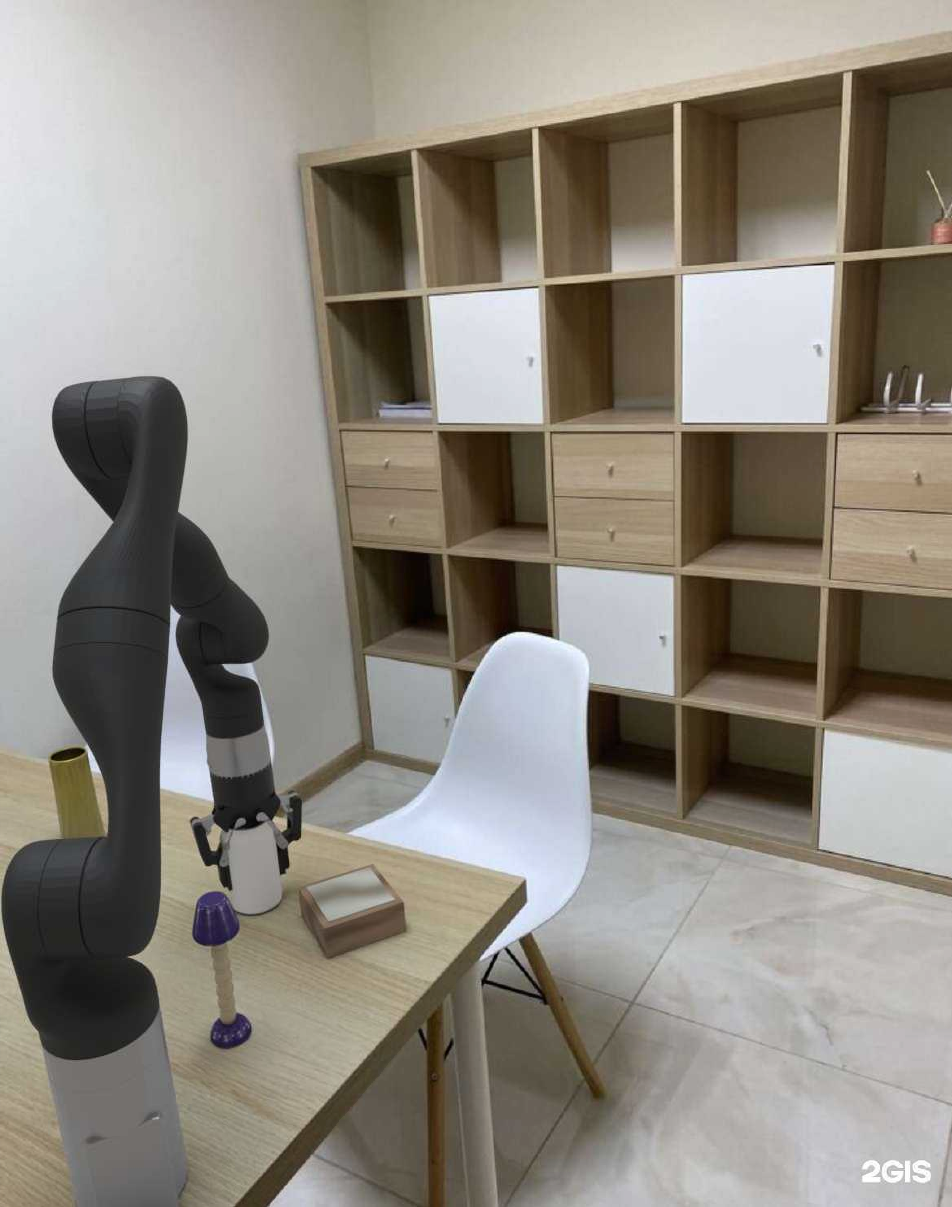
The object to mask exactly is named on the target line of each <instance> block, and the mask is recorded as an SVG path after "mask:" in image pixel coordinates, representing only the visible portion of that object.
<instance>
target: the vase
mask: <svg viewBox="0 0 952 1207" xmlns="http://www.w3.org/2000/svg"><path fill="white" fill-rule="evenodd" d="M88 753H89V752H88V749H87V748H86V747H83V746H77V745H76V746H68V747H67V746H66V747H64V748H60V749H57V750H55V751H53V752H51V753H50V754H49V755H48V765H49V771H50V775H51V780H52V786H53V787H52V788H53V792H54V797H55V798H54V800H55V804H56V810H57V811H56V813H57V819H58V825H59V831H60V832H59V833H60V837H61V838H60V839H67V838H84V837H102V836H104V837H106V836H107V833H106V831H105V827H104V822H103V820H102V815H101V810H100V806H99V802H98V797H97V794H96V788H95V784H94V779H93V778H94V777H93V774H92V768H91V764H90V759H89V758H90V757H89V754H88Z"/></svg>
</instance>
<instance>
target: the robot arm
mask: <svg viewBox="0 0 952 1207" xmlns="http://www.w3.org/2000/svg"><path fill="white" fill-rule="evenodd" d="M184 401H185V400H184V399H183V396H182V393H181V392H180V389H179V388H178V386H176V385H175V383H173V382H172V381H171V380H170V379H167V378H166V377H163V376H156V375H143V376H142V375H140V376H131V377H122V378H115V379H114V378H112V379H103V380H93V381H92V380H91V381H85V382H79V383H74V384H70V385H68V386H65V387H63V388H62V389H61V390H60V391H59V392H58V393H57V395H56V397H55V399H54V402H53V405H52V411H51V428H52V434H53V437H54V442H55V445H56V446H57V449H58V451H59V454H60V455H61V458H62V460H64V463H65V464H66V466H67V467H68V469H69V470H70V472H71V473H72V475H73V476H74V477H75V479H76V480H77V481H78V483H79V484H81V486H82V487H83V489H84V490H85V491H86V492H87V493H88V494H89V495H90V496H91V498H92V499H93V500H94V501H95V503H97V504H98V506H99V507H100V508H101V509H102V511H103V512H104V513H105V514H106V515H107V516H108V518H110V520H111V521H112V524H110V526H109V528H108V529H107V530H106V532H105V534H104V535H103V536H102V538H101V539H100V540H99V541H98V542H97V543H96V545H95V546H94V548H92V550H91V551H90V553H89V554H88V556H87V557H86V558H85V559H84V560H83V562H82V563H81V565H80V567H78V569H77V570H76V572H75V574H73V576H72V577H71V580H70V581H69V582H68V585H67V586H66V588H65V590H64V591H63V594H62V596H61V598H60V601H59V604H58V609H57V615H56V617H57V618H56V625H55V635H54V645H53V654H52V666H51V670H52V671H51V673H52V679H53V683H54V686H55V687H54V688H55V690H56V692H57V694H58V696H59V698H60V701H61V702H62V704H63V706H64V708H65V709H66V712H67V713H68V715H69V717H70V718H71V720H72V722H73V723H74V725H75V726H76V728H77V729H78V731H79V732H78V733H80V734H81V736H82V738H83V740H84V741H85V743H86V745H87V747H88V748H89V751H90V752H91V753H92V756H93V757H94V760H95V762H96V764H97V767H98V769H99V771H100V773H101V776H102V780H103V783H104V788H105V794H106V802H107V817H108V818H107V822H108V824H107V833H106V837H104V836H102V837H84V838H67V839H61V838H54V839H43V840H42V839H41V840H36V841H32V842H29V843H28V844H25V845H23V846H22V847H21V848H20V849H19V850H18V851H17V852H16V853H15V854H14V855H13V857H12V858H11V860H10V861H9V864H8V865H7V868H6V871H5V874H4V876H3V877H4V878H3V881H2V886H1V896H0V902H1V903H0V908H1V909H0V910H1V913H0V914H1V920H2V927H3V933H4V937H5V942H6V945H7V951H8V952H9V953H8V954H9V958H10V960H11V963H12V966H13V969H14V972H15V973H14V974H15V976H16V980H17V982H18V986H19V989H20V993H21V996H22V1000H23V1003H24V1008H25V1012H26V1015H27V1018H28V1020H29V1022H30V1023H31V1025H32V1027H34V1029H35V1030H36V1031H37V1032H38V1035H39V1036H38V1037H39V1039H40V1041H39V1042H40V1045H41V1048H42V1049H41V1050H42V1052H43V1053H42V1054H43V1058H44V1064H45V1068H46V1074H47V1077H48V1082H49V1086H50V1091H51V1097H52V1100H53V1101H52V1102H53V1105H54V1108H55V1109H54V1110H55V1114H56V1115H55V1116H56V1119H57V1125H58V1128H59V1133H60V1136H61V1142H62V1143H61V1144H62V1147H63V1152H64V1156H65V1159H66V1160H65V1161H66V1164H67V1168H68V1173H69V1179H70V1182H71V1186H72V1191H73V1196H74V1201H75V1205H76V1207H180V1203H179V1197H180V1194H181V1193H182V1191H183V1189H184V1187H185V1185H186V1182H187V1179H188V1174H189V1173H188V1172H189V1171H188V1170H189V1165H188V1160H187V1154H186V1147H185V1140H184V1137H183V1130H182V1125H181V1121H180V1115H179V1108H178V1102H177V1096H176V1092H175V1085H174V1080H173V1075H172V1069H171V1063H170V1057H169V1056H170V1055H169V1051H168V1044H167V1040H166V1034H165V1026H164V1021H163V1017H162V1016H163V1015H162V1010H161V1004H160V998H159V991H158V986H157V983H156V979H155V977H154V975H153V973H152V971H151V969H149V967H147V965H145V964H144V963H142V962H140V960H137V959H134V958H132V957H133V956H137V955H138V954H140V953H142V952H143V951H144V950H145V949H146V948H147V947H148V945H149V944H150V943H151V941H152V939H153V936H154V934H155V931H156V927H157V923H158V918H159V912H160V905H161V904H160V903H161V893H162V892H161V891H162V889H161V888H162V828H161V827H162V826H161V824H162V823H161V822H162V821H161V818H162V817H161V757H162V756H161V754H162V737H163V736H162V733H163V721H164V709H165V699H166V698H165V697H166V687H167V685H166V684H167V676H168V667H169V649H170V634H171V612H172V611H171V608H173V610H174V611H175V612H176V613H177V614H178V615H179V616H180V617H179V618H178V620H177V623H176V626H175V642H176V647H177V651H178V653H179V656H180V658H181V661H182V663H183V665H184V667H185V669H186V671H187V673H188V675H189V677H190V680H191V682H192V684H193V686H194V689H195V691H196V693H197V695H198V698H199V701H200V703H201V704H200V705H201V708H202V709H201V710H202V716H203V724H204V730H205V740H206V741H205V748H206V749H205V751H206V764H207V766H208V772H209V778H210V784H211V792H212V797H213V809H212V811H211V814H209V815H206V816H204V817H203V816H202V817H201V818H200V817H198V816H192V817H191V818H190V820H189V825H190V826H191V827H190V828H191V830H192V834H193V837H194V840H195V842H196V847H197V849H198V852H199V856H200V857H201V860H202V862H203V864H204V866H206V867H212V866H217V872H218V878H219V879H218V880H219V882H220V883H221V886H222V887H223V888H224V889H226V888H227V890H228V892H230V891H231V890H232V882H231V875H230V867H229V865H228V864H229V857H228V850H230V839H231V837H232V834H233V830H232V831H231V834H230V837H229V840H228V841H227V842H226V843H223V840H222V831H223V830H224V831H225V832H226V833H227V832H229V829H228V828H231V829H237V830H242V829H244V826H246V825H249V824H253V823H257V822H259V823H260V824H262V823H263V822H265V821H267V823H268V825H269V826H270V827H271V828H272V830H273V834H274V838H275V841H276V846H277V854H278V862H279V870H280V876H283V875H286V874H287V870H288V869H290V865H291V864H290V855H289V845H290V844H292V843H293V842H294V841H295V842H298V841H299V840H301V839H302V822H303V820H302V818H303V817H302V814H303V811H302V810H303V800H302V799H301V797H300V795H298V793H297V792H296V790H290V791H288V792H287V794H282V795H278V794H277V793H276V788H275V787H276V785H275V780H274V771H273V765H272V757H271V748H270V743H269V742H270V741H269V740H270V739H269V737H268V733H267V729H266V725H265V719H264V710H263V703H262V696H261V690H260V687H259V684H258V683H257V681H256V680H254V679H252V678H249V677H248V676H244V675H243V676H242V675H240V674H235V673H233V672H231V671H229V670H227V669H226V668H225V666H223V665H246V664H251V663H254V662H256V661H257V660H259V659H260V658H261V657H262V656H263V655H264V654H265V652H266V650H267V648H268V644H269V641H270V632H269V626H268V623H267V620H266V617H265V616H264V614H263V612H262V610H261V609H260V607H259V606H258V605H257V603H256V602H255V601H254V600H253V599H252V597H250V596H249V595H248V594H247V593H246V592H245V591H244V590H243V589H242V588H241V587H240V585H238V584H237V583H236V581H234V580H233V579H232V578H231V577H230V576H229V574H228V573H227V570H226V567H225V566H224V564H223V561H222V559H221V557H220V556H219V552H218V551H217V549H216V548H215V545H214V543H213V542H212V540H211V538H210V537H209V536H208V535H207V534H206V533H205V532H204V531H203V530H202V528H200V527H199V526H198V525H197V524H196V523H195V522H193V521H192V520H191V519H189V518H188V517H186V516H185V515H184V514H183V513H181V512H179V509H180V508H179V507H180V502H181V496H182V489H183V484H184V483H183V481H184V477H185V470H186V469H185V468H186V461H187V455H188V442H189V428H188V426H189V425H188V416H187V409H186V405H185V402H184ZM280 806H282V808H283V809H284V811H285V812H286V829H285V830H283V831H281V830H280V829H279V828H278V827H277V825H276V823H275V822H274V818H275V816H276V815H277V813H278V811H279V809H280ZM268 817H269V818H268ZM213 825H216V826H218V827H219V828H220V829H221V832H220V833H219V834H220V835H219V842H218V844H217V847H216V850H212V849H211V846H210V843H209V840H208V836H210V835H211V832H212V827H213Z"/></svg>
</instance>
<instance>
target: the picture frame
mask: <svg viewBox="0 0 952 1207" xmlns="http://www.w3.org/2000/svg"><path fill="white" fill-rule="evenodd" d="M297 888H298V889H297V890H298V897H299V904H300V905H299V906H300V913H301V917H302V919H303V920H304V922H305V924H306V925H307V926H308V928H309V930H310V932H311V933H312V935H313V937H314V938H315V939H316V942H317V943H318V945H319V947H320V948H321V950H322V952H323V953H324V955H325V956H326V958H327V959H330V958H333V957H336V956H338V955H342V954H345V953H347V952H350V951H352V950H356V949H359V948H362V947H364V946H367V945H370V944H373V943H376V942H378V941H381V940H383V939H387V938H390V937H393V936H396V935H399V934H401V933H404V932H407V926H406V925H407V924H406V916H405V915H406V913H405V911H406V910H405V902H404V900H403V899H402V898H401V897H400V895H399V894H398V893H397V892H396V891H395V890H394V888H393V886H391V884H390V883H389V882H388V881H387V879H386V878H385V877H384V875H382V873H381V872H380V870H379V869H378V868H377V867H376V866H375V864H373V863H372V864H368V865H366V866H362V867H359V868H356V869H353V870H352V869H351V870H349V871H346V872H342V873H339V874H336V875H334V876H330V877H327V878H324V879H320V880H317V881H313V882H311V883H307V884H305V885H301V886H299V887H297Z"/></svg>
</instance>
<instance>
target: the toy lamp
mask: <svg viewBox="0 0 952 1207" xmlns="http://www.w3.org/2000/svg"><path fill="white" fill-rule="evenodd" d="M193 915H194V917H193V922H192V930H191V933H192V934H191V935H192V939H193V940H194V942H195V943H196V944H198V945H200V946H203V947H211V949H210V952H211V953H210V956H211V958H212V959H213V961H212V967H213V971H214V981H215V984H216V987H215V988H216V989H215V992H216V995H217V997H218V998H217V1006H218V1008H219V1014H218V1015H219V1016H218V1018H217V1019H216V1020H215V1022H214V1023H213V1025H212V1027H211V1029H210V1036H209V1038H210V1041H211V1043H212V1044H213V1045H214V1046H215V1047H217V1048H221V1049H222V1048H223V1049H229V1048H235V1047H237V1046H240V1045H241V1044H243V1043H245V1042H246V1041H247V1040H248V1039H249V1038H250V1036H251V1034H252V1031H253V1030H252V1028H253V1027H252V1024H251V1022H250V1020H249V1019H248V1017H247V1016H245V1015H244V1014H243V1013H240V1012H237V1009H236V1006H235V1004H236V998H235V994H234V983H233V981H232V980H233V972H232V969H231V959H230V957H229V953H230V952H229V946H228V944H227V943H228V942H230V941H232V940H234V938H235V937H236V936H237V935H238V933H239V931H240V921H239V919H238V916H237V914H236V911H235V909H234V908H233V906H232V903H231V900H230V899H229V898H228V895H227V894H225V892H222V891H219V890H215V891H214V890H212V891H209V892H208V891H207V892H205V893H204V894H202V895H200V896H199V898H198V899H197V901H196V906H195V911H194V914H193Z"/></svg>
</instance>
